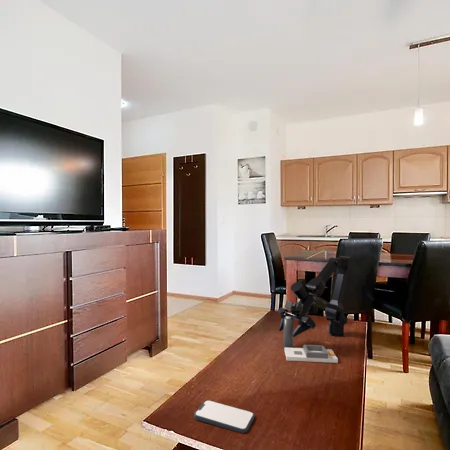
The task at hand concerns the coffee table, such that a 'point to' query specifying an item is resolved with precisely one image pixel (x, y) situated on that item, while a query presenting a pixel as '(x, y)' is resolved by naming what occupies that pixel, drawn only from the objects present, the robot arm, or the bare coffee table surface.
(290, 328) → the joystick
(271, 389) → the coffee table surface
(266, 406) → the coffee table surface
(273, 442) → the coffee table surface
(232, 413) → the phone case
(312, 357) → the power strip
